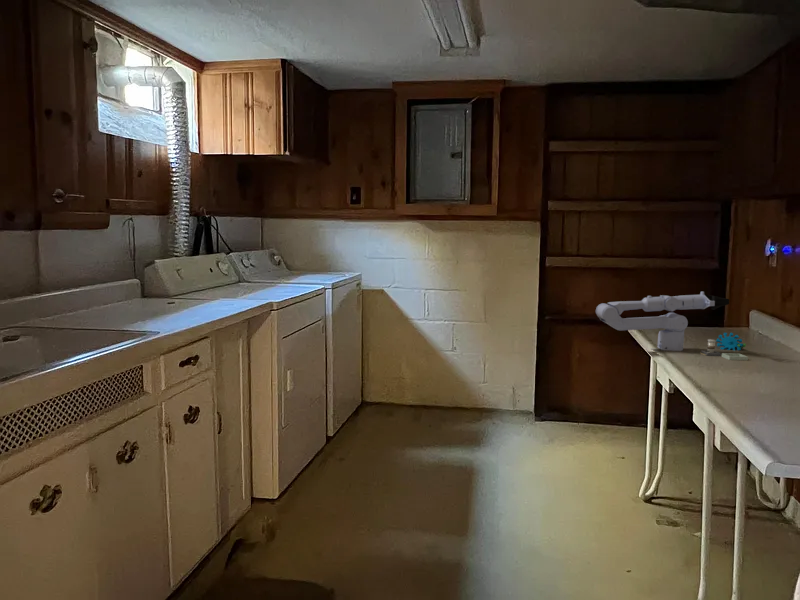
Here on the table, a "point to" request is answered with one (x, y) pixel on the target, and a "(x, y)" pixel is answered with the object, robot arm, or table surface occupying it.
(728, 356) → the parts tray
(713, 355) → the grey square holder
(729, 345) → the gear
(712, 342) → the cylinder
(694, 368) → the table surface
